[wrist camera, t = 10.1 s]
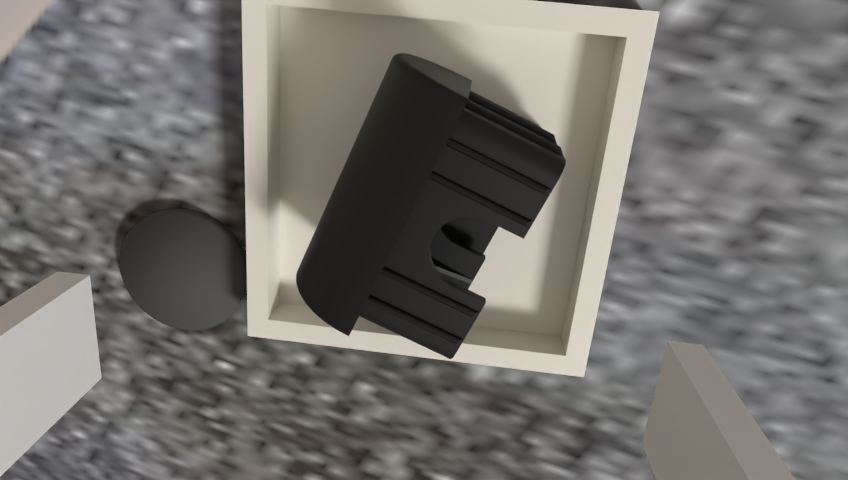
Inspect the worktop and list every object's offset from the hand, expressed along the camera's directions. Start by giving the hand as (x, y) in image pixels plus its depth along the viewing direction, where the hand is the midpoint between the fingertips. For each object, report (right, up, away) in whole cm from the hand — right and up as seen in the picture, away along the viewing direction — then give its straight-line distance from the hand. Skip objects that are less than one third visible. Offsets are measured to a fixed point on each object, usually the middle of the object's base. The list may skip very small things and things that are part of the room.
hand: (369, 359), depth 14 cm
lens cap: (-11, +1, +18) cm, 21 cm away
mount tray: (+2, +5, +15) cm, 16 cm away
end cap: (+2, +5, +14) cm, 15 cm away
